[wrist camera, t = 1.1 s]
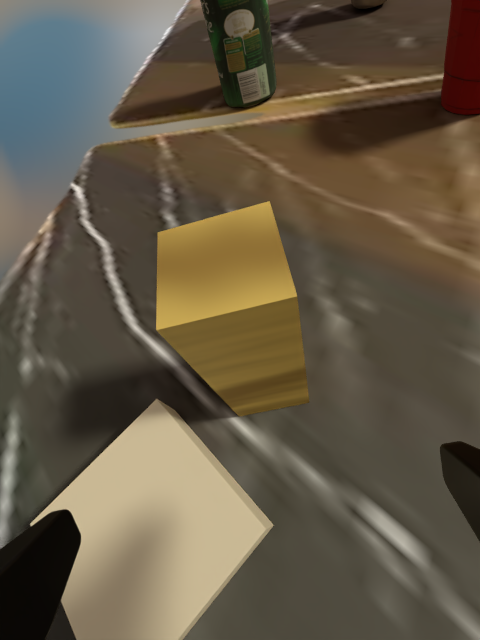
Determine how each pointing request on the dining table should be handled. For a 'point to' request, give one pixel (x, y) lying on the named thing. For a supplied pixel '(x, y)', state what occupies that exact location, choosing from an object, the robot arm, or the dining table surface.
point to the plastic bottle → (366, 3)
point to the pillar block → (233, 308)
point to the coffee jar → (241, 49)
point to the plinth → (154, 532)
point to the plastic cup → (462, 59)
